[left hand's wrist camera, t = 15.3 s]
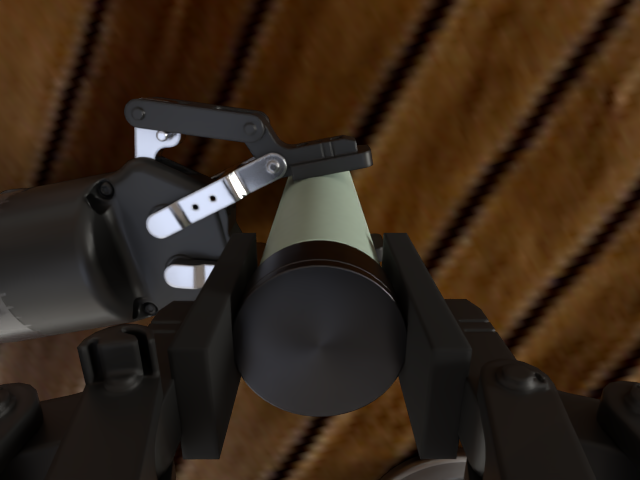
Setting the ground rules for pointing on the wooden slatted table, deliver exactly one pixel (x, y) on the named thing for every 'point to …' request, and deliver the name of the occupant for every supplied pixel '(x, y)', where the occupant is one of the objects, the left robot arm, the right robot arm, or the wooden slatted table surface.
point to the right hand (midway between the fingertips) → (375, 201)
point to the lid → (319, 329)
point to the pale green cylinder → (320, 215)
